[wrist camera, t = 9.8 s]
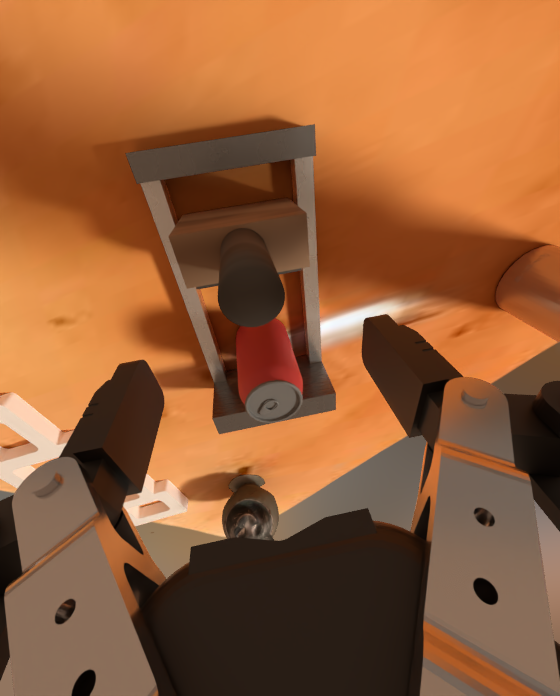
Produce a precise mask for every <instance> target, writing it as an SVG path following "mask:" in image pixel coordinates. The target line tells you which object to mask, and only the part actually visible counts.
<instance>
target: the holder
mask: <svg viewBox="0 0 560 696" xmlns="http://www.w3.org/2000/svg"><path fill="white" fill-rule="evenodd" d="M0 423H3V424H5V425H7V426H8V427H9V428H11V429H12V430H14V431H15V432H16V433H18V434H19V435H21V436H22V437H24V438H25V439H26V440H28V441H29V442H31V443H28V444H25V445H21V446H18V447H15V448H11V449H6V448H3V447H1V446H0V479H2V480H3V481H5V482H7V483H9V484H11V485H12V486H14V487H16V488H18V487H19V486H20V484H21V483H22V482H23V481H24V480H25V479H26V478H27V477H28V476H29V475H30V474H31V473H32V472H33V471H35V470H36V469H35V468H33V467H32V466H30V465H33V464H37V463H40V462H43V461H47V460H50V459H54V458H57V457H59V456H60V454H61V453H62V451H63V449H64V447H65V446H66V444H67V442H68V440H69V438H70V437H71V435H72V433H73V431H74V430H72V431H68V432H62V431H61V430H60V429H59V428H57V427H56V426H55V425H54V424H52V423H51V422H50V421H49V420H48V419H46V418H45V417H44V416H43V415H41V414H40V413H39V412H38V411H36V410H35V409H34V408H33V407H32V406H30V405H29V404H28V403H27V402H25V401H24V400H23V399H22V398H20V397H19V396H18V395H17V394H15V393H12V392H10V393H7V394H4V395H0ZM157 500H159V501H162V502H159V503H155V504H152V505H148V506H145V507H140V506H139V505H143V504H146V503H150V502H153V501H157ZM123 507H124V508H125V509H126V510H127V512H128V514H129V516H130V518H131V520H132V522H133V524H134V526H138V525H141V524H145V523H148V522H152V521H155V520H159V519H162V518H166V517H169V516H173V515H176V514H180V513H183V512H186V511H187V507H188V498H187V497H186V496H185V495H184V494H183V493H182V492H180V491H179V490H178V489H177V488H176V487H175V486H174V485H173V484H172V483H171V482H170V481H169V480H167V479H166V480H162V481H159V482H155V481H154V480H153V479H152V478H151V477H150V476H149V475H148V474H146V478H145V482H144V485H143V489H142V493H138V494H133V495H128V496H126V498H125V501H124V505H123Z"/></svg>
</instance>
